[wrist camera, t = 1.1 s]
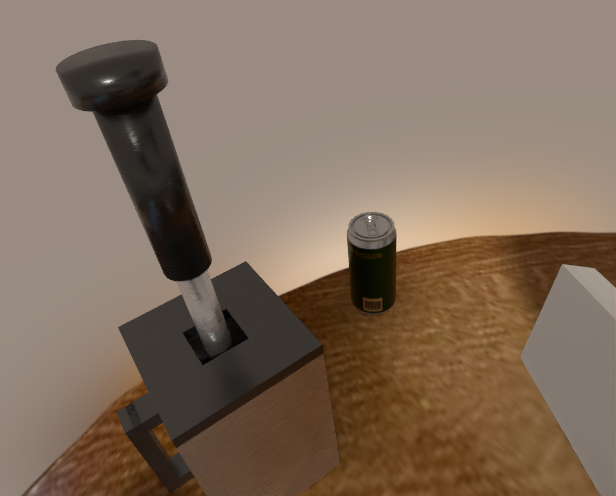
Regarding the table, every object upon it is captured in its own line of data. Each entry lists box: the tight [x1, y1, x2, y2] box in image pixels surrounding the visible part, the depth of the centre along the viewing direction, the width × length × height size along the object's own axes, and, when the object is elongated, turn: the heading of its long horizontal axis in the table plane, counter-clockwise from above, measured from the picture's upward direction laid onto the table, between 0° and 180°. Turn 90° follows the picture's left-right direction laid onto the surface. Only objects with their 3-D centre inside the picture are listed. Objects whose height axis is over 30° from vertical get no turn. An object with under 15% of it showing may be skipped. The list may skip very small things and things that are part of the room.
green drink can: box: [347, 212, 396, 315], centre depth 54 cm, size 5×5×12 cm
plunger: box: [56, 40, 234, 361], centre depth 29 cm, size 8×8×28 cm
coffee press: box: [117, 262, 340, 496], centre depth 38 cm, size 14×11×18 cm
